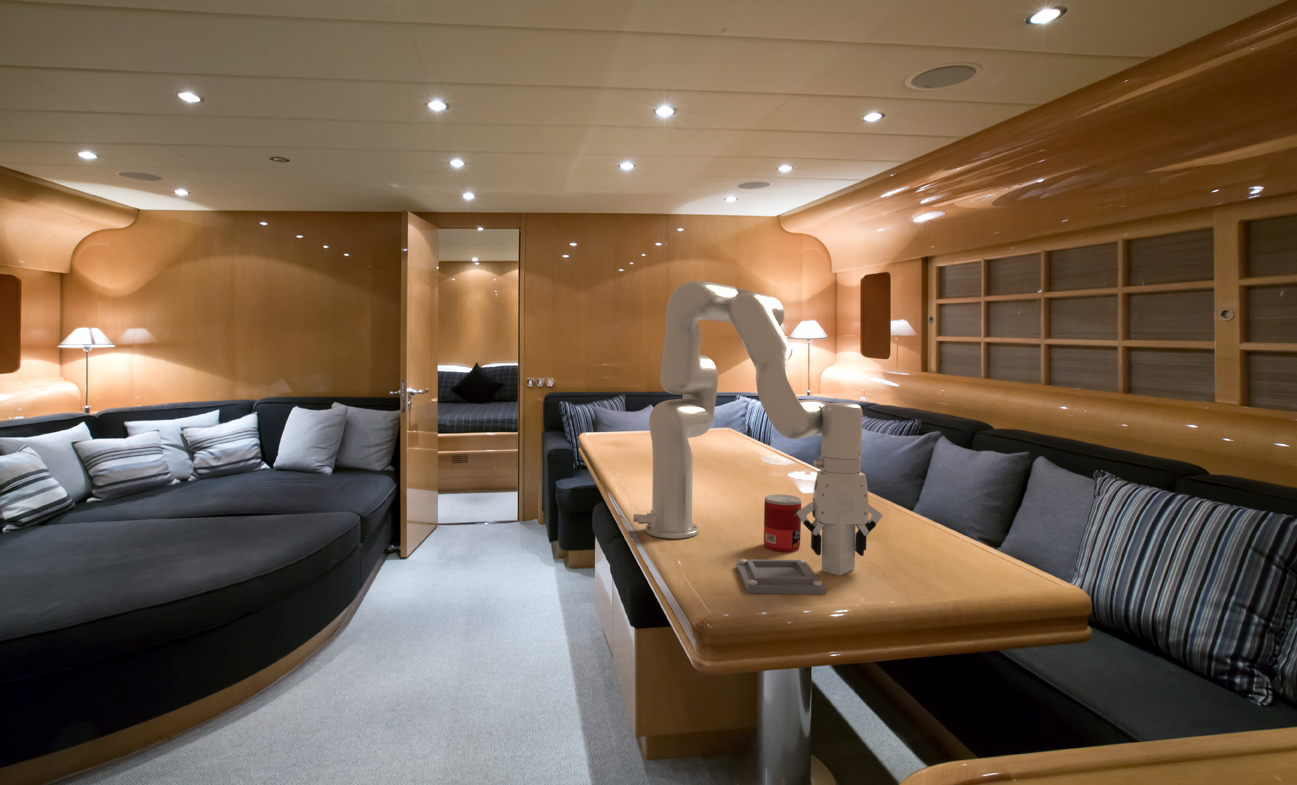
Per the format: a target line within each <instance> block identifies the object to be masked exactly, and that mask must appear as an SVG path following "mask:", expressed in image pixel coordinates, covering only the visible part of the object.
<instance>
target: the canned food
mask: <svg viewBox="0 0 1297 785" xmlns="http://www.w3.org/2000/svg"><path fill="white" fill-rule="evenodd" d="M763 508H764V509H763V510H764V512H763V513H764V514H763V544H764V547H765V548H766V549H768V550H771V551H774V552H781V553H791V552H796V551H798V550H799V549H800V547H801V531H802V530H801V529H802V527H801V526H802V521H801V520H800V518H799V517H798V515H797V512H798V511H799V510H801V509H802V498H800V497H799V496H794V495H788V494H768V495H766V496H765V497H764V506H763Z"/></svg>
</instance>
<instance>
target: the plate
mask: <svg viewBox="0 0 1297 785" xmlns="http://www.w3.org/2000/svg"><path fill="white" fill-rule="evenodd" d="M807 562H808V561H806V560H804V559H746V558H745V559H744V558H740V559H738V561H736V563H735V564H736V565H735V566H736V570H737V573H738V574H739V578H740V580H741V582H742V585H743V587H744V589H746V590H745V592H746V594H756V593H762V594H763V595H764V594H767V595H768V594H770V595H771V594H775V595H776V594H777V595H778V594H780V595H826V593H827V591H826V590H827V589H826V586H825V585H824V583H823V582H822V581H821V580H820V578H819V577H818V575H817V574H816V573H815V571H814V570H813V569H812V568H811V566H810V564H808V563H807Z"/></svg>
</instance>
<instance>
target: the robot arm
mask: <svg viewBox="0 0 1297 785" xmlns="http://www.w3.org/2000/svg"><path fill="white" fill-rule="evenodd" d="M700 320H707V321H716V322H724V323H728V324H732V326H733V328H734V330H735V332H736V334H737V336H738V337H739V339H740V341H741V343H742V345H743V347H744V349H745V350H746V352H747V355H748V356H749V358H750V360H751V362H752V363H753V366H754V369H755V384H756V390H757V391H756V392H757V395H758V399H759V402H760V404H761V406H762V409H763V410H764V412H765V414H766V416H767V417H768V420H769V421H770V424H772V426H773V428H774V430H776V431H777V433H778V434H780V435H781V436H782V437H784V438H785V439H790V440H798V439H804V438H809V437H815V436H821V455H819V456H820V457H819V458H818V459H813V466H814V467H818V468H820V470H818V471H817V473H816V477H815V481H814V487H813V495H812V496H813V497H812V501H810V502H809V503H808V504H807V505H805V506H804V507H801V510H799V511H798V512H797V515H798V517H799V518H800V520H801V524H803V525H804V526H805V528H807V529H808V530H809V531H810V538H811V539H810V548H811V550H812V551H813V553H814V554H815V555H816V556H822V534H821V531H822V528H823V526H824V525H835V524H836V515H838V514H843V522H844V525H855V528H856V529H857V531H855V553H857V554H858V555H859V556H860V557H863V556H864V555H865V551H867V537H868V536H869V535H870V533H871V531H872V530H873V529H875V528H876V526H877V524H879V522H880V520H881V519H882V518H883V514H882V513H881V512H880V511H878V510H877V509H876V508H874V507H873V506H871V505H870V504H869V493H868V492H869V491H868V483H867V477H866V474H865V473H864V472H861V470H862V468H861V467H862V442H863V409H862V406H860V405H859V404H857V403H851V402H828V401H823V400H818V399H800V400H799V398H798V396H797V395H796V393H795V390H794V389H793V386H792V385H791V383H790V380H789V377H788V371H787V370H788V369H787V368H788V363H789V360H790V358H791V357H792V355H793V347H792V346H791V345H790V342H789V341H788V339H787V337H786V336H785V334H784V332H783V330H782V328H781V327H782V325H783V323H784V320H785V310H784V307H783V305H782V303H781V302H780V300H779V299H778V298H776V297H774V296H772V295H769V294H765V293H759V292H755V291H752V290H747V289H744V288H739V287H736V286H732V285H727V284H722V283H718V282H717V283H716V282H713V281H712V282H711V281H706V280H705V281H704V280H695V281H693V280H692V281H689V282H688V281H687V282H685V283H683V284H681V285H680V286H678V287H677V288H675V289H674V290H673V292H672V293H671V294H670V296H669V298H668V301H667V303H666V307H665V329H664V330H665V332H664V340H663V348H662V358H661V365H660V367H661V368H660V374H659V375H660V377H659V380H660V385H661V387H662V389H663V390H664V391H665V392H666V393H668V394H671V395H682V398H677V399H675V398H674V399H669V400H668V399H667V400H664V401H661V402H659V403H657V404H656V405H655V406H654V407H653V408H652V410H651V411H650V413H649V419H648V426H649V433H650V438H651V447H652V448H651V450H652V499H651V500H652V505H651V506H652V508H651V510H650V512H646V514H640V513H634V514H633V515H632V516H633V521H632V522H633V523H638V524H639V525H643V524H646V525H645V532H646V534H648V535H649V536H653V537H656V538H662V539H686V538H691V537H694V536H696V535H698V534H699V526H697V525H696V524H694V523H693V481H694V480H693V475H694V474H693V471H694V469H693V468H694V467H693V466H694V465H693V463H694V461H693V460H694V459H693V452H692V448H691V446H690V443H689V439H690V438H696V437H701V436H703V435H705V434H706V433H708V432H709V430H710V428H711V427H712V424H713V421H714V417H715V416H714V415H715V410H716V408H715V407H716V402H717V401H716V400H717V394H718V384H719V373H718V369H717V367H716V364H715V363H714V361H713V360H712V358H710V357H708V356H707V355H704V354H700V352H701V350H700V349H701V343H702V334H701V333H702V332H701V328H700V326H699V321H700ZM810 513H812V517H813V518H814V520H813V521H812V522H811V521H810V520H809V519H808V515H809V514H810ZM869 514H871V517H870V518H869V516H870V515H869Z"/></svg>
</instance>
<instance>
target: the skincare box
mask: <svg viewBox="0 0 1297 785" xmlns="http://www.w3.org/2000/svg"><path fill="white" fill-rule="evenodd" d="M821 531H822V534H821V572H824V573H827V572H828V574H831V575H835V576H842V575H845V574H847V573H848V572H851V571H852V570H855V567H856V560H855V559H856V551H855V539H856V525H844V522H843V514H838V515H836V524H835V525H824V526H823V528H822V529H821Z"/></svg>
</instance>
